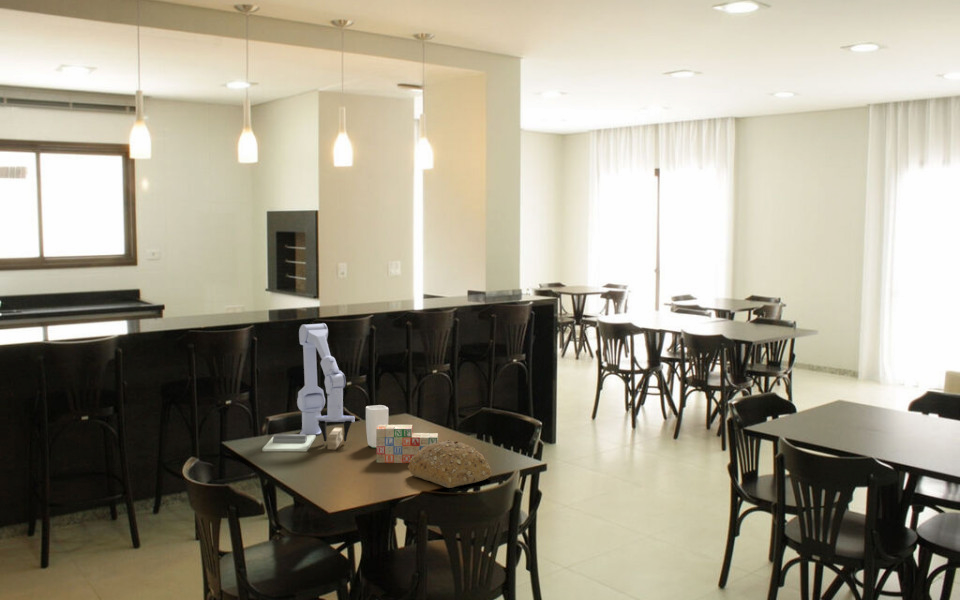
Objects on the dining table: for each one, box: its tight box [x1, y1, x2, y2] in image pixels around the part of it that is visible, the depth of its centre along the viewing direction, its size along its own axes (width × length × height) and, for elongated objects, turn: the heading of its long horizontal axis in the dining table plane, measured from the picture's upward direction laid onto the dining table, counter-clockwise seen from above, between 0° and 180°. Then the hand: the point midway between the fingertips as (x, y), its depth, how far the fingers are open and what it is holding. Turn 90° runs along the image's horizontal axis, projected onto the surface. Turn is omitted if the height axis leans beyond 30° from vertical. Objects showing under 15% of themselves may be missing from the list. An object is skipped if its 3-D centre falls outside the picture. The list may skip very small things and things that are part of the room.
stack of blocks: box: [375, 424, 439, 464], centre depth 285 cm, size 21×6×12 cm, turn 90°
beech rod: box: [327, 426, 344, 450], centre depth 306 cm, size 14×3×5 cm, turn 179°
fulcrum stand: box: [262, 433, 317, 452], centre depth 305 cm, size 20×16×4 cm
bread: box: [407, 439, 492, 489], centre depth 265 cm, size 24×21×12 cm
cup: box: [365, 404, 389, 449], centre depth 303 cm, size 7×7×15 cm
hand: (335, 440), depth 306 cm, fingers open, 7 cm apart
